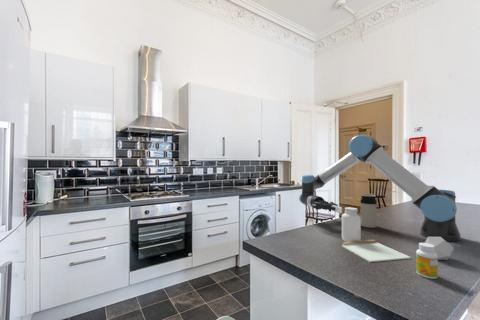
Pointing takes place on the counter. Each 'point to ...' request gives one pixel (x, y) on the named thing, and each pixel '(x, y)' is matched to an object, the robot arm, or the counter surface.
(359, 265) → the counter surface
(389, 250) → the mat
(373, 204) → the travel mug
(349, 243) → the stop strip
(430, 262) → the supplement bottle
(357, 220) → the pill bottle
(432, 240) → the die
